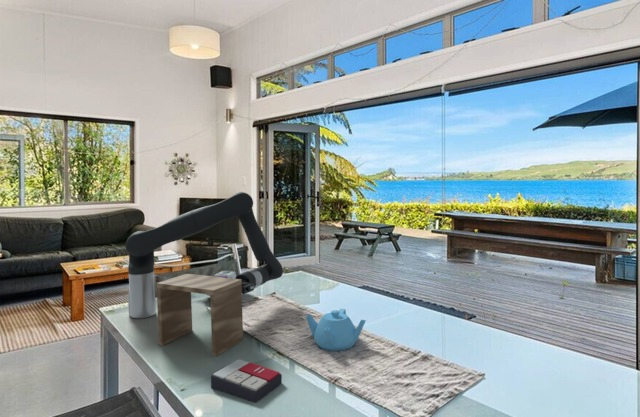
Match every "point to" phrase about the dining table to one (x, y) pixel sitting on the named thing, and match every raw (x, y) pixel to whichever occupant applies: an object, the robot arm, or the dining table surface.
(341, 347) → the teapot
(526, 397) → the dining table surface
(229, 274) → the syrup box
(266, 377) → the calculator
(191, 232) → the robot arm
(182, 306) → the cubby shelf
